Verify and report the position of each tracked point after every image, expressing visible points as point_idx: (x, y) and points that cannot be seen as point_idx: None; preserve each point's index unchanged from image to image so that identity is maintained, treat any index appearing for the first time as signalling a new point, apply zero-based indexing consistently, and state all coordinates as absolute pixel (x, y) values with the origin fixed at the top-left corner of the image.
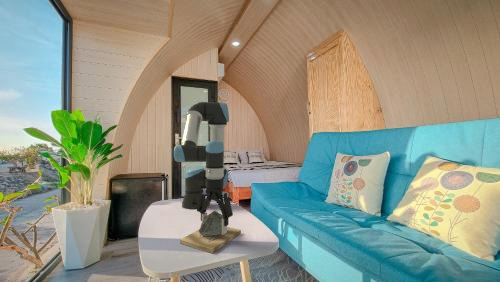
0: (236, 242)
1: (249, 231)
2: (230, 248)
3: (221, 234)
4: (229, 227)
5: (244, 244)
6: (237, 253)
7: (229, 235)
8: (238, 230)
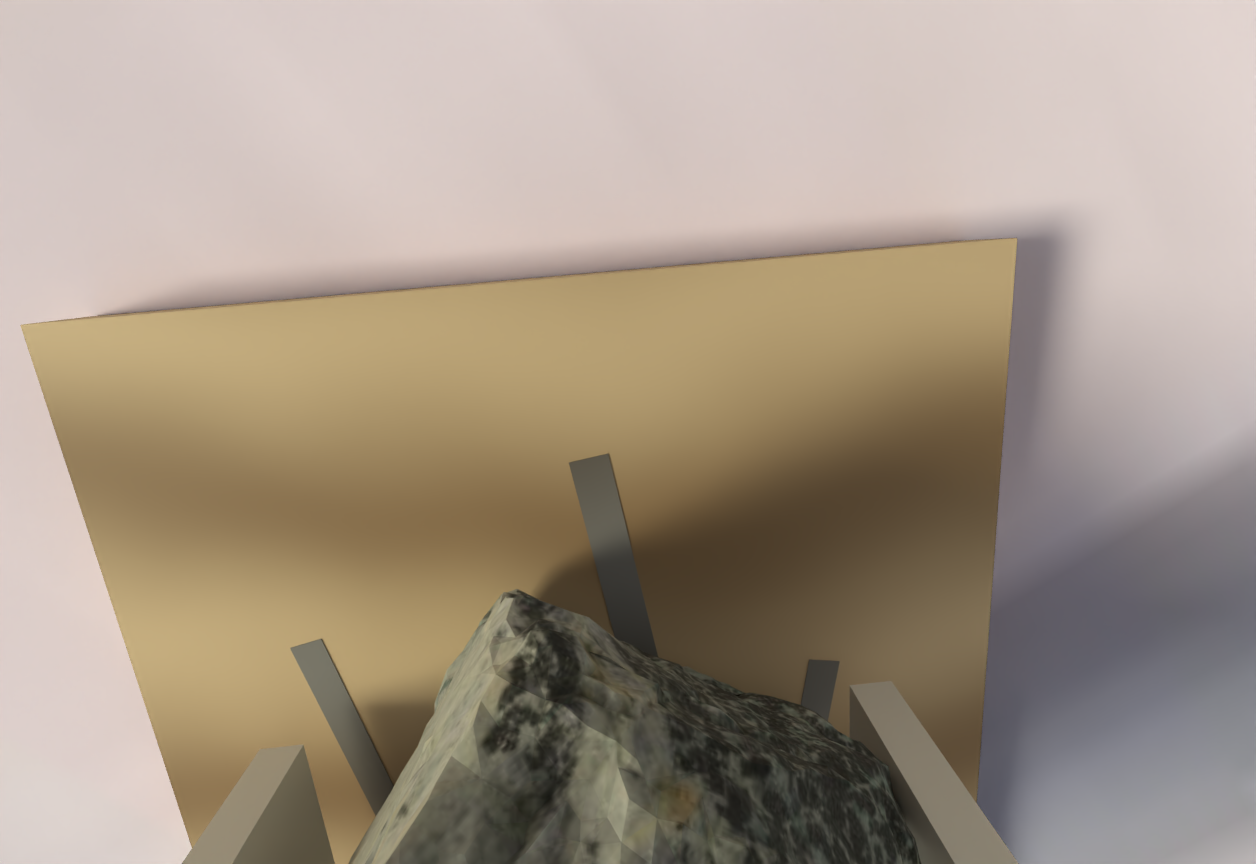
0: (1074, 619)
1: (1107, 3)
2: (1079, 810)
3: (756, 691)
4: (661, 280)
5: (1235, 600)
6: (1236, 852)
7: (931, 636)
8: (979, 307)
